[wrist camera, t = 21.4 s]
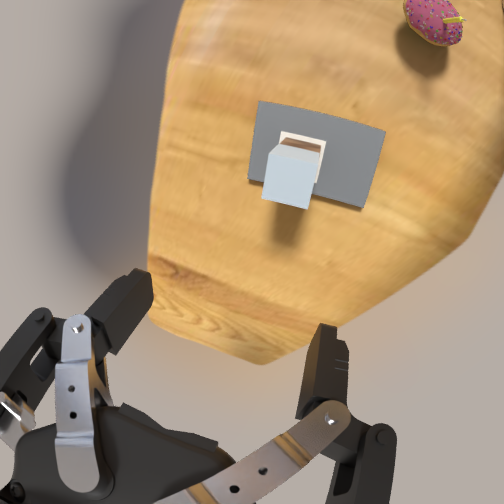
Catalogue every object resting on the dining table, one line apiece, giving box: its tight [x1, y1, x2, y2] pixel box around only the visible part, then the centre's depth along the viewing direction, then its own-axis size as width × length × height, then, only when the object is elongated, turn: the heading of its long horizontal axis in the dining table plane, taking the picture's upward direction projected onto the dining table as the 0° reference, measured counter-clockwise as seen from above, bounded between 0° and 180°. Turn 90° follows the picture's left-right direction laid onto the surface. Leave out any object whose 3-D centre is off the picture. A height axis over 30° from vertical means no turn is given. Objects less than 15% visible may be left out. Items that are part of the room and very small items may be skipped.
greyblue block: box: [262, 144, 320, 209], centre depth 30 cm, size 5×5×6 cm
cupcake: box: [403, 0, 466, 46], centre depth 17 cm, size 9×8×12 cm
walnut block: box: [280, 137, 321, 157], centre depth 35 cm, size 5×5×6 cm
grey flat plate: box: [247, 101, 386, 208], centre depth 37 cm, size 18×12×1 cm, turn 82°
